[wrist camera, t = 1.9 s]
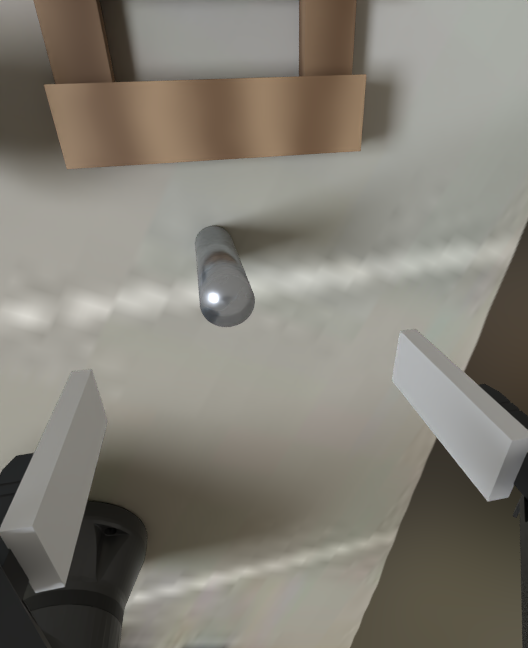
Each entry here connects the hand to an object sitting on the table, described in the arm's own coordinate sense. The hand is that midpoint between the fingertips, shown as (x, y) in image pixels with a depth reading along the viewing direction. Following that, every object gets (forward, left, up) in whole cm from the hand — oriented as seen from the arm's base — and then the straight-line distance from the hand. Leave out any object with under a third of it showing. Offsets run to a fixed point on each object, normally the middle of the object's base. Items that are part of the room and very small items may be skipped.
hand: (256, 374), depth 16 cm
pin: (-1, 0, -19) cm, 19 cm away
